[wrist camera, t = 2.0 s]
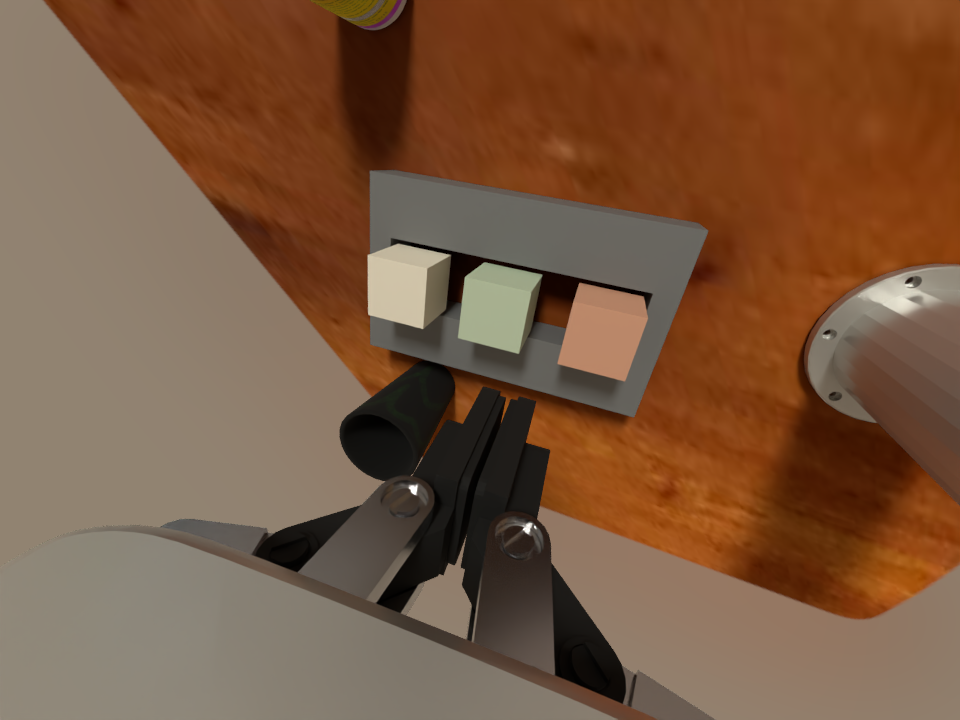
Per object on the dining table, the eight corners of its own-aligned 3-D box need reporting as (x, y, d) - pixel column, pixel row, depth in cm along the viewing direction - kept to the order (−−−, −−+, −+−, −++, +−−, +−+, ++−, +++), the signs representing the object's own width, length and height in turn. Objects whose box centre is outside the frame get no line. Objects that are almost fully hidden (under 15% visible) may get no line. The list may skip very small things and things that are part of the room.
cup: (435, 339, 42) (377, 397, 32) (477, 395, 44) (434, 466, 33) (389, 370, 46) (323, 430, 36) (429, 420, 47) (377, 492, 37)
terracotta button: (643, 296, 31) (648, 318, 26) (624, 353, 33) (625, 381, 29) (579, 282, 32) (573, 301, 27) (564, 338, 34) (557, 363, 30)
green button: (542, 274, 32) (531, 291, 28) (530, 330, 35) (518, 353, 30) (484, 262, 33) (464, 277, 29) (476, 316, 36) (457, 338, 31)
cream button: (451, 255, 34) (427, 268, 30) (446, 309, 36) (423, 329, 32) (398, 243, 35) (367, 255, 31) (396, 297, 37) (368, 314, 33)
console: (698, 223, 30) (708, 230, 27) (632, 394, 38) (633, 417, 35) (393, 169, 36) (369, 170, 32) (389, 330, 43) (370, 344, 40)
